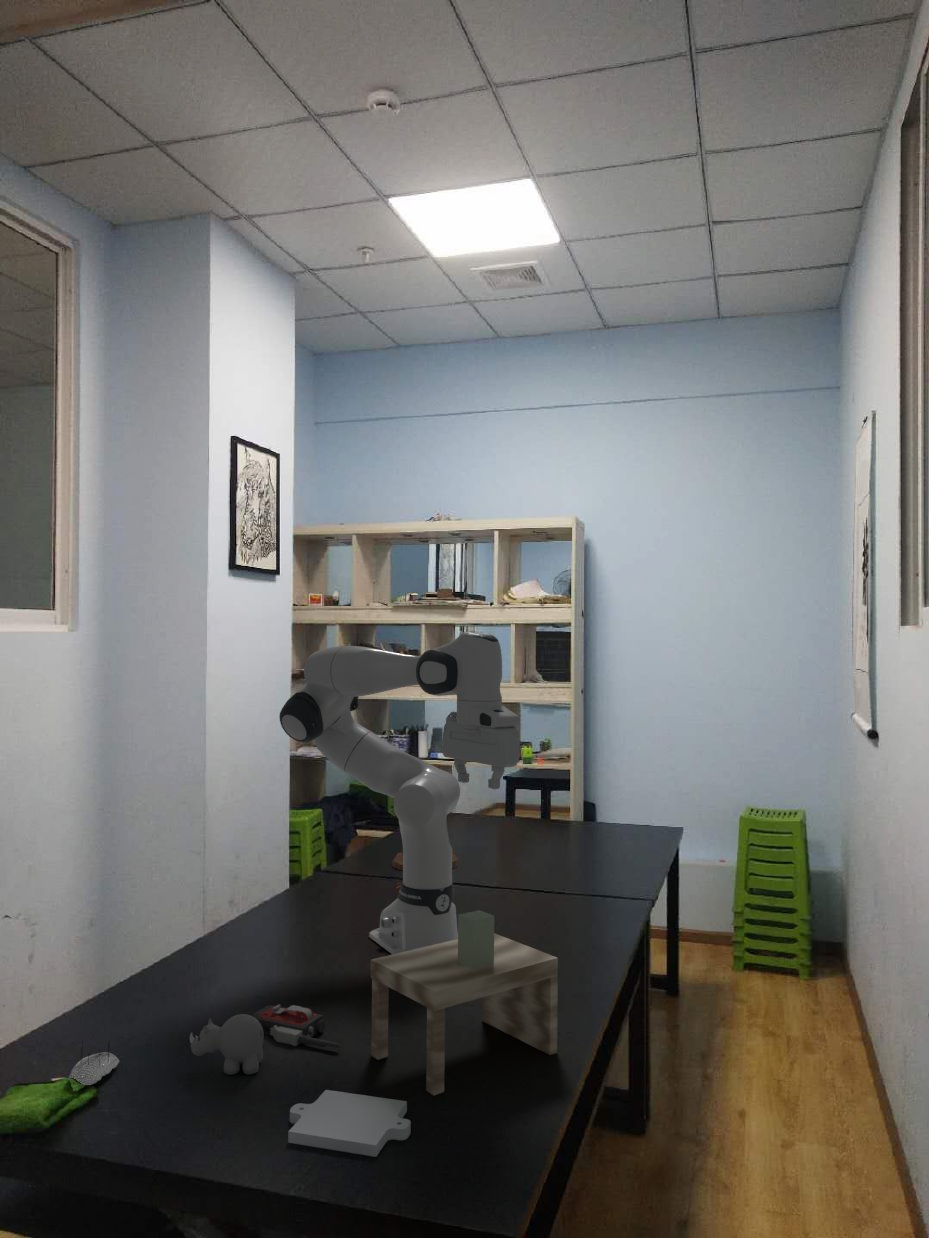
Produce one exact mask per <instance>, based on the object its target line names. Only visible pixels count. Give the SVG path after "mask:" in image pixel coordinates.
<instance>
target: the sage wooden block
mask: <svg viewBox="0 0 929 1238" xmlns="http://www.w3.org/2000/svg"><path fill="white" fill-rule="evenodd" d="M457 931H458V963H459V964H461V965H464V966H466V967H468V968H470V969H472V970H473V969H477V968H481V967H485V966H489V965H492V964H494V933H495V915H493V914H491V913H488V912H485V911H483V910H480V909H478V910H475V911H470V912H464V913H460V914H458V915H457Z"/></svg>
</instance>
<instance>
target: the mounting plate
mask: <svg viewBox="0 0 929 1238" xmlns="http://www.w3.org/2000/svg"><path fill="white" fill-rule="evenodd" d="M407 1110H408V1102H407V1100H399V1099H393V1098H385V1097H379V1096H378V1097H377V1096H371V1095H365V1094H357V1093H350V1092H345V1091H337V1090H330V1089H325V1090H324V1091H323V1092H322V1093H321V1094H320V1095H319V1097H318V1098H317V1099H316V1100H315V1101H314V1102H311V1103H301V1102H300V1103H299V1102H298V1103H296V1104H294V1105H292V1106H291V1107H290V1109H289V1123H291V1124H293V1126H292V1127H290V1129H289V1130H288V1140H287V1143H288V1144H289V1143H290V1144H295V1145H302V1146H307V1147H314V1148H320V1149H327V1150H332V1151H338V1152H344V1153H350V1154H355V1155H364V1156H368V1157H377V1156H378V1155H379V1153H380V1152H381V1150H382V1149H383V1148H384V1146H385V1144H386V1143H387V1142H388V1141H391V1140H396V1141H405V1140H407V1139H408V1138H409V1137H410V1135H411V1131H412V1130H411V1125H412V1124H411V1123H412V1122H411V1120H410V1119H408V1118H404V1116H405V1115H406V1113H407V1112H408V1111H407Z"/></svg>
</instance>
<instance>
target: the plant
mask: <svg viewBox="0 0 929 1238" xmlns="http://www.w3.org/2000/svg"><path fill="white" fill-rule="evenodd" d="M391 863H392V867H393V868H394V869H395V870H398V871H400V872H403V851H402V852H398V853H396V855H395V857H394V859H393V860H392V861H391ZM458 866H459V857H457V856H456V854H455V853H453V852H452V870H453V869H455V868H457V867H458Z"/></svg>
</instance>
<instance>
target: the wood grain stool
mask: <svg viewBox="0 0 929 1238" xmlns="http://www.w3.org/2000/svg"><path fill="white" fill-rule="evenodd" d="M558 969H559V958H558V957H557V956H554V955H551V954H550V953H547V952H543V951H542V950H539V949H537V948H533V947H531V946H529V945H526V944H523V943H520V942H519V941H516V940H512V939H510V938H509V937H506V936H502V935H500V934H497V933H495V932H494V964H492V965H489V966H485V967H481V968H477V969H473V970H472V969H470V968H468V967H466V966H464V965H461V964H459V963H458V939H456V940H452V941H448V942H443V943H439V944H435V945H431V946H427V947H422V948H418V949H414V950H410V951H405V952H401V953H397V954H389V955H384V956H380V957H376V958H372V959H370V978H371V980H372V981H371V1044H370V1045H371V1048H370V1049H371V1050H370V1051H371V1052H370V1054H371V1057H373V1058H374V1059H376V1060H382V1059H384V1058H388V1057H389V1004H390V1003H389V1002H390V1001H389V999H390V998H389V997H390V995H389V994H390V993H389V992H390V990H389V989H392V990H393V991H395V992H397V993H399V994H402V996H403V995H404V996H405V997H407V998H409V999H410V1000H413V1001H415V1002H416V1003H419V1004H420V1005H422V1006H424V1007H426V1063H425V1064H426V1069H425V1070H426V1071H425V1072H426V1074H425V1076H426V1077H425V1078H426V1079H425V1083H426V1084H425V1091H426V1092H428V1093H429V1094H431V1095H432V1096H437V1095H439V1094H442V1093H445V1065H446V1064H445V1062H446V1061H445V1060H446V1058H445V1057H446V1055H445V1054H446V1052H445V1051H446V1049H445V1048H446V1044H445V1043H446V1009H447V1008H450V1007H454V1006H457V1005H460V1004H464V1003H467V1002H470V1001H475V1000H477V999H482V1005H481V1006H482V1007H481V1008H482V1011H481V1013H482V1014H481V1015H482V1017H481V1018H482V1019H481V1020H482V1022H483V1023H485V1024H488V1025H489V1026H491V1027H493V1028H495V1029H498V1030H499V1031H501V1032H504V1033H505V1034H508V1035H510V1037H513V1038H515V1039H517V1040H520V1041H521V1042H523V1043H525V1044H527V1045H529V1046H531V1047H533V1048H535V1049H537V1050H539V1051H541V1052H543V1053H545V1054H547V1055H549V1056H551V1055H555V1054H557V1053H558V995H559V994H558V992H559V991H558V989H559V985H558V981H559V980H558V979H559V976H558V975H559V970H558Z"/></svg>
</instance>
